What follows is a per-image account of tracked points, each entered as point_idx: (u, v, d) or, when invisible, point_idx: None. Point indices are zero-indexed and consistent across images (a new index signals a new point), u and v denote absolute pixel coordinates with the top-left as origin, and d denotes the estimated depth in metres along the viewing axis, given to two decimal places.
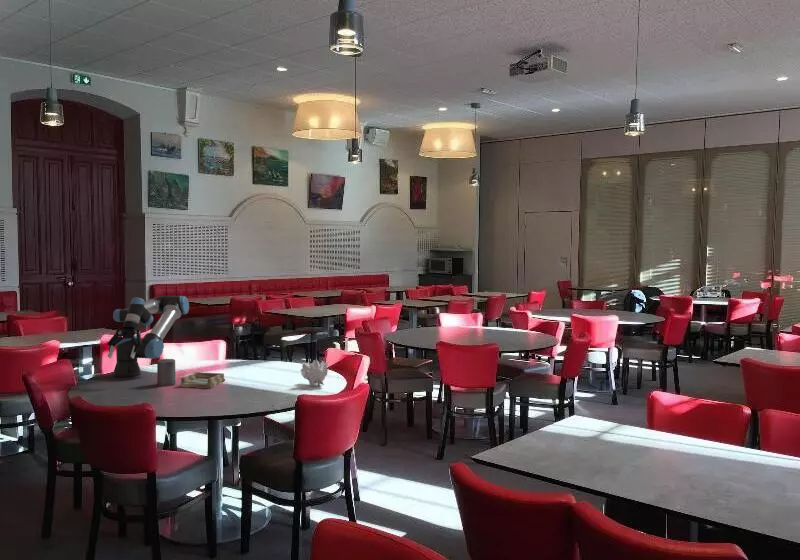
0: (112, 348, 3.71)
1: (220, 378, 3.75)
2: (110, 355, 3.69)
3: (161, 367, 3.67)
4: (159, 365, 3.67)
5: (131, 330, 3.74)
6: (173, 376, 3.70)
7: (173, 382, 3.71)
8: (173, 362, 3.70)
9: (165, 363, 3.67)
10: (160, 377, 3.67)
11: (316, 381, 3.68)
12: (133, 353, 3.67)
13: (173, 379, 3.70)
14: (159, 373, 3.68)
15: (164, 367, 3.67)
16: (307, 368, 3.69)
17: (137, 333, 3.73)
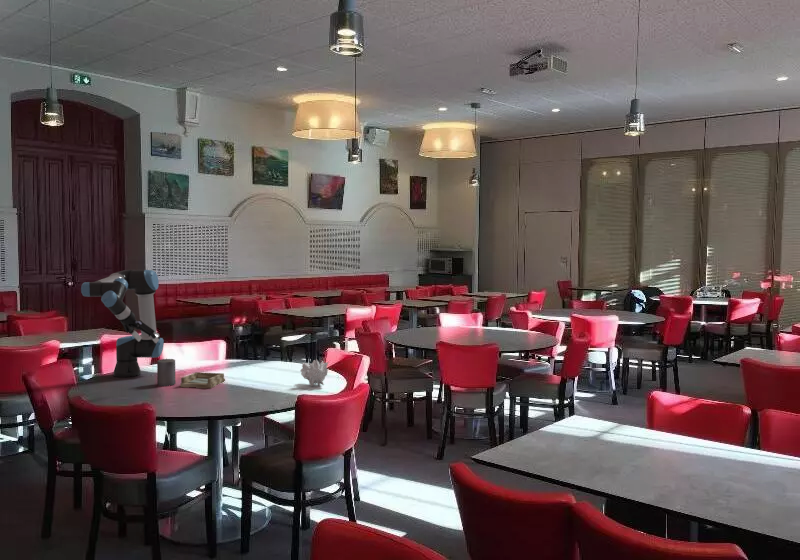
0: (134, 334, 3.60)
1: (220, 378, 3.75)
2: (139, 338, 3.63)
3: (161, 367, 3.67)
4: (159, 365, 3.67)
5: (132, 323, 3.49)
6: (173, 376, 3.70)
7: (173, 382, 3.71)
8: (173, 362, 3.70)
9: (165, 363, 3.67)
10: (160, 377, 3.67)
11: (316, 381, 3.68)
12: (154, 339, 3.55)
13: (173, 379, 3.70)
14: (159, 373, 3.68)
15: (164, 367, 3.67)
16: (307, 368, 3.69)
17: (140, 326, 3.48)
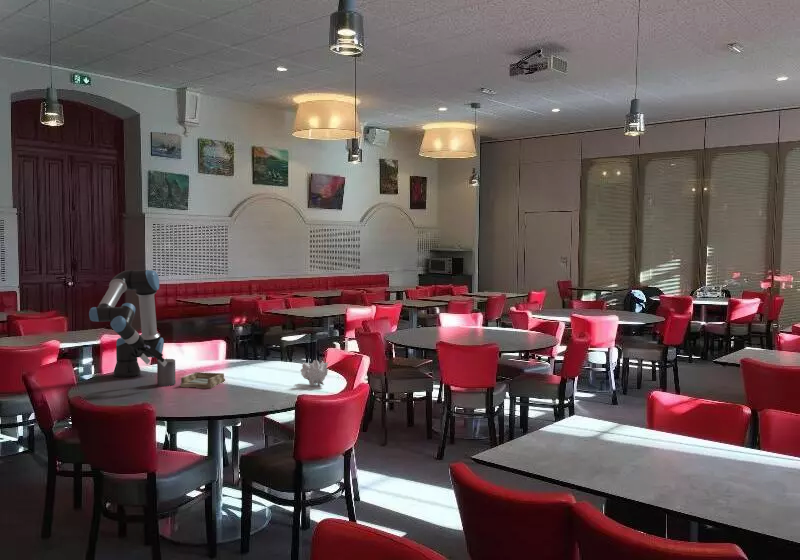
0: (143, 357, 3.65)
1: (220, 378, 3.75)
2: (147, 361, 3.67)
3: (161, 367, 3.67)
4: (159, 365, 3.67)
5: (141, 347, 3.53)
6: (173, 376, 3.70)
7: (173, 382, 3.71)
8: (173, 362, 3.70)
9: None
10: (160, 377, 3.67)
11: (316, 381, 3.68)
12: (163, 362, 3.60)
13: (173, 379, 3.70)
14: (159, 373, 3.68)
15: (164, 367, 3.67)
16: (307, 368, 3.69)
17: (148, 350, 3.52)
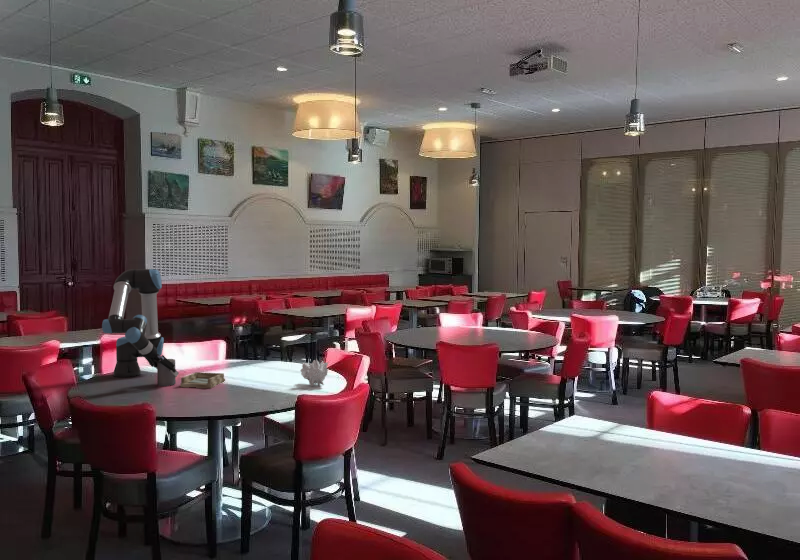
0: None
1: (220, 378, 3.75)
2: None
3: (161, 367, 3.67)
4: (159, 365, 3.67)
5: (154, 357, 3.61)
6: (173, 376, 3.70)
7: (173, 382, 3.71)
8: (173, 362, 3.70)
9: None
10: (160, 377, 3.67)
11: (316, 381, 3.68)
12: (175, 373, 3.70)
13: (173, 379, 3.70)
14: (159, 373, 3.68)
15: (164, 367, 3.67)
16: (307, 368, 3.69)
17: (162, 361, 3.61)
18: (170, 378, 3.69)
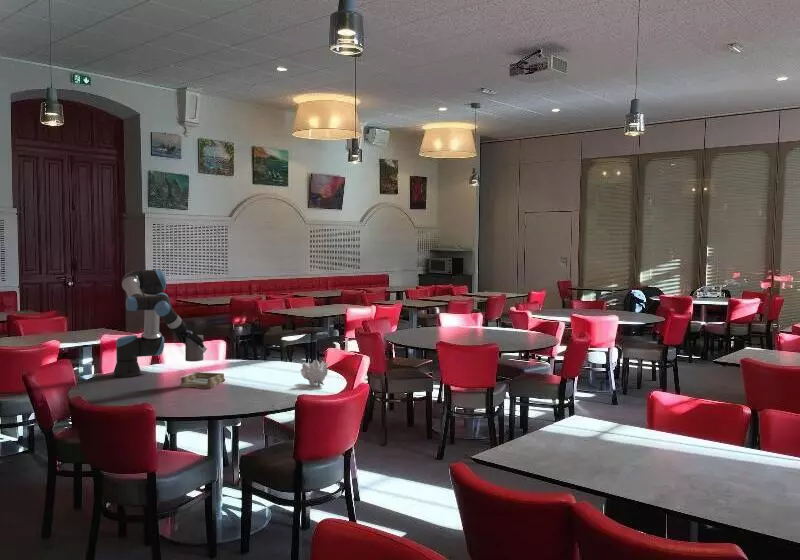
0: None
1: (220, 378, 3.75)
2: None
3: (190, 342, 3.65)
4: (187, 340, 3.66)
5: (183, 331, 3.60)
6: (201, 352, 3.68)
7: (201, 358, 3.69)
8: (201, 337, 3.68)
9: None
10: (188, 353, 3.66)
11: (316, 381, 3.68)
12: (203, 348, 3.68)
13: (201, 355, 3.68)
14: (187, 348, 3.66)
15: (192, 342, 3.65)
16: (307, 368, 3.69)
17: (190, 335, 3.60)
18: (198, 353, 3.67)
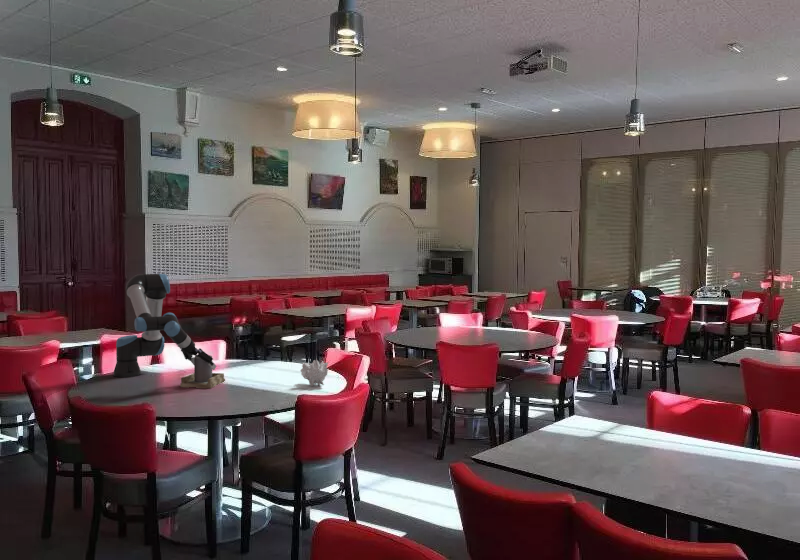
0: (193, 361, 3.74)
1: (220, 378, 3.75)
2: None
3: (199, 363, 3.67)
4: (196, 361, 3.68)
5: (192, 351, 3.62)
6: (210, 372, 3.71)
7: None
8: None
9: (202, 359, 3.67)
10: (197, 373, 3.68)
11: (316, 381, 3.68)
12: (212, 366, 3.69)
13: (210, 375, 3.71)
14: (196, 369, 3.68)
15: (201, 363, 3.67)
16: (307, 368, 3.69)
17: (199, 354, 3.61)
18: (207, 374, 3.69)
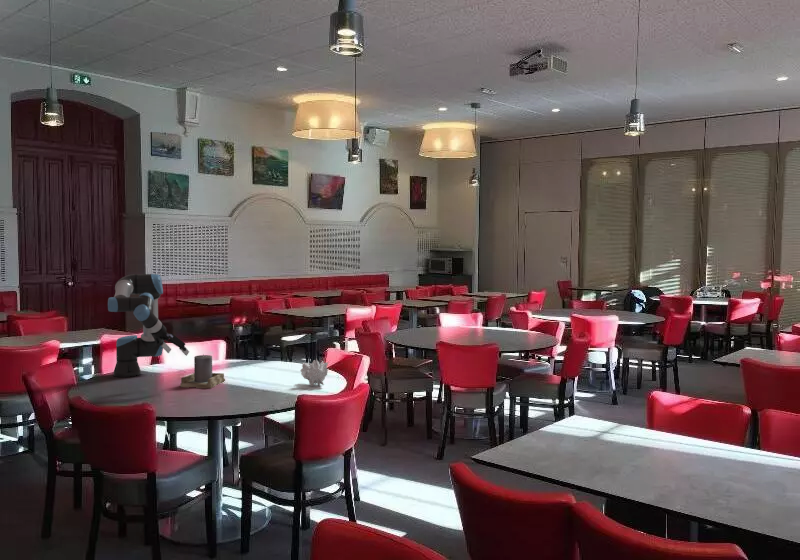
0: (164, 346, 3.61)
1: (220, 378, 3.75)
2: (168, 350, 3.64)
3: (199, 363, 3.67)
4: (196, 361, 3.68)
5: (163, 336, 3.49)
6: (210, 372, 3.71)
7: None
8: (210, 358, 3.70)
9: (202, 359, 3.67)
10: (197, 373, 3.68)
11: (316, 381, 3.68)
12: (185, 351, 3.56)
13: (210, 375, 3.71)
14: (196, 369, 3.68)
15: (201, 363, 3.67)
16: (307, 368, 3.69)
17: (171, 339, 3.48)
18: (207, 374, 3.69)
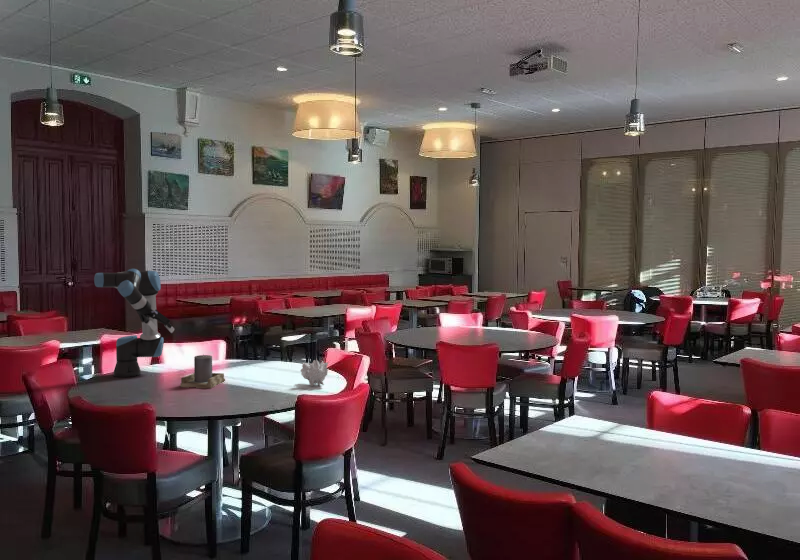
0: (150, 324, 3.61)
1: (220, 378, 3.75)
2: (154, 328, 3.64)
3: (199, 363, 3.67)
4: (196, 361, 3.68)
5: (148, 312, 3.49)
6: (210, 372, 3.71)
7: None
8: (210, 358, 3.70)
9: (202, 359, 3.67)
10: (197, 373, 3.68)
11: (316, 381, 3.68)
12: (170, 328, 3.56)
13: (210, 375, 3.71)
14: (196, 369, 3.68)
15: (201, 363, 3.67)
16: (307, 368, 3.69)
17: (156, 315, 3.48)
18: (207, 374, 3.69)
